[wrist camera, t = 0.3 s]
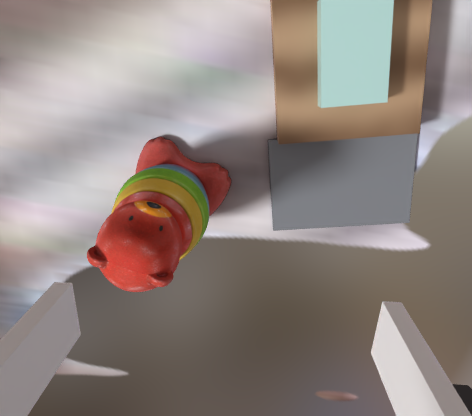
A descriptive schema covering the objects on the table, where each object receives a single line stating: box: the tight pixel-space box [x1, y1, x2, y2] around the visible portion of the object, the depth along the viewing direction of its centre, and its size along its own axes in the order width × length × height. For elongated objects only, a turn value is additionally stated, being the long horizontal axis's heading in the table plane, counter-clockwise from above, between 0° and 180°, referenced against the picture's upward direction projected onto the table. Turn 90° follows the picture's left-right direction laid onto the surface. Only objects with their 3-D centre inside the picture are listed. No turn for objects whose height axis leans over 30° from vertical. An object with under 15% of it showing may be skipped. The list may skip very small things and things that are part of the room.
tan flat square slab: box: [270, 0, 432, 144], centre depth 35 cm, size 14×14×3 cm
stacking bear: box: [87, 137, 231, 292], centre depth 34 cm, size 11×10×18 cm
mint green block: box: [317, 0, 394, 108], centre depth 32 cm, size 9×6×2 cm, turn 5°
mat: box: [268, 134, 418, 231], centre depth 40 cm, size 11×16×1 cm
